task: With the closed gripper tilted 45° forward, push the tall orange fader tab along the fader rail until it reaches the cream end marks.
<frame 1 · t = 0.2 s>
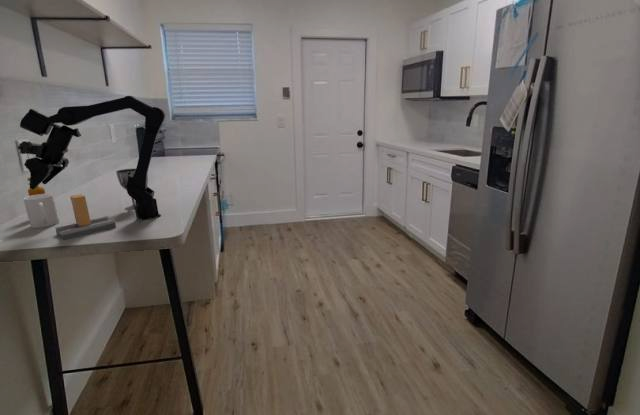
hand: (37, 186, 121), 15 cm above the table, tool tilted 30°, fingers open, 9 cm apart
cup: (46, 226, 128), on the table
fader rail: (87, 230, 121), on the table
carrot: (43, 217, 140), on the table
wine glass: (134, 208, 147), on the table
fader tab: (80, 211, 119), point 7 cm above the table, slide at 0.0 cm
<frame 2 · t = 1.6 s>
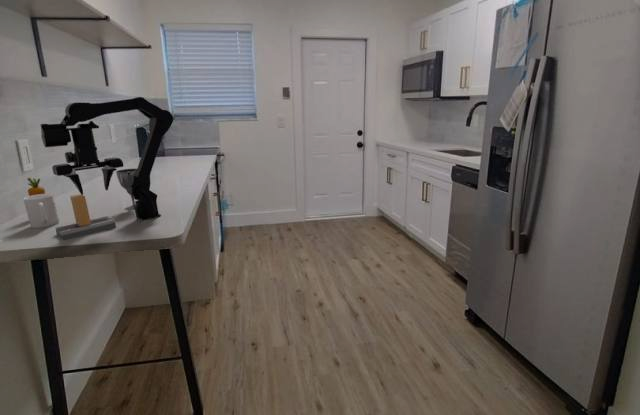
hand: (94, 192, 121), 12 cm above the table, tool pointing down, fingers open, 7 cm apart
nothing on the table moved.
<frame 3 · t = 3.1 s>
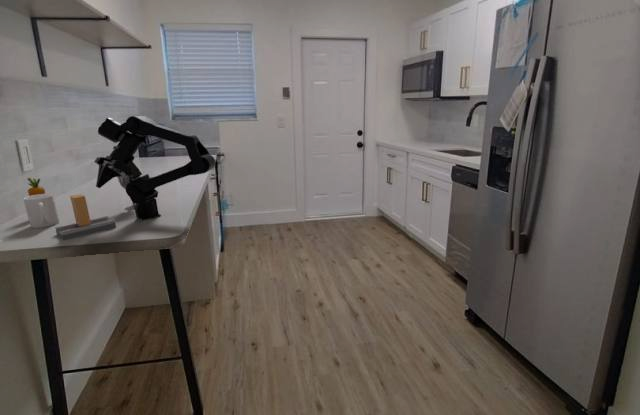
hand: (97, 187, 121), 13 cm above the table, tool tilted 45°, fingers closed
nothing on the table moved.
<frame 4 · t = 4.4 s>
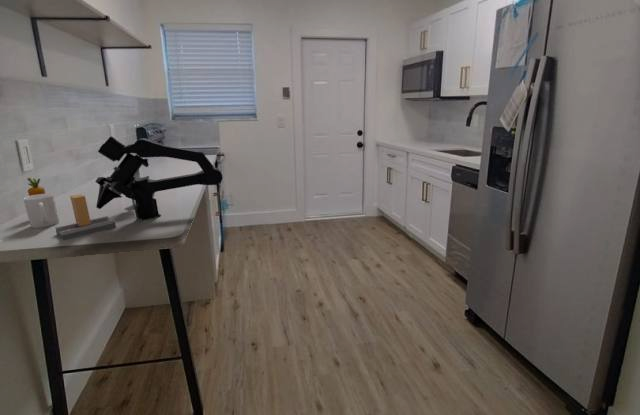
hand: (97, 208, 122), 7 cm above the table, tool tilted 45°, fingers closed
nothing on the table moved.
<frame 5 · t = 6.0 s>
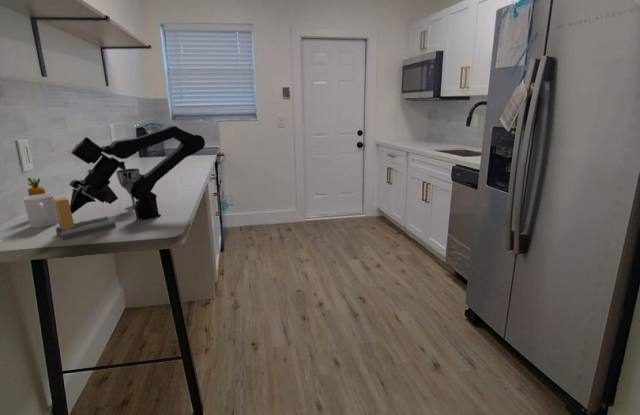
hand: (70, 212, 117), 7 cm above the table, tool tilted 45°, fingers closed, pressing on fader tab
fader tab: (64, 214, 116), point 7 cm above the table, slide at 4.6 cm, touching gripper
everything else where it was.
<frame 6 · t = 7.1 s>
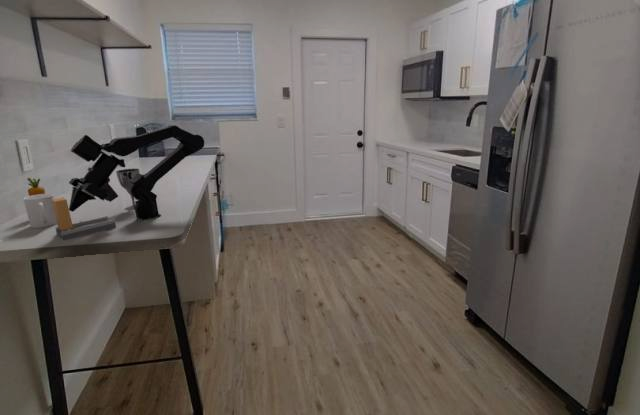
hand: (70, 210, 117), 8 cm above the table, tool tilted 45°, fingers closed
fader tab: (62, 215, 115), point 7 cm above the table, slide at 5.0 cm
everything else where it was.
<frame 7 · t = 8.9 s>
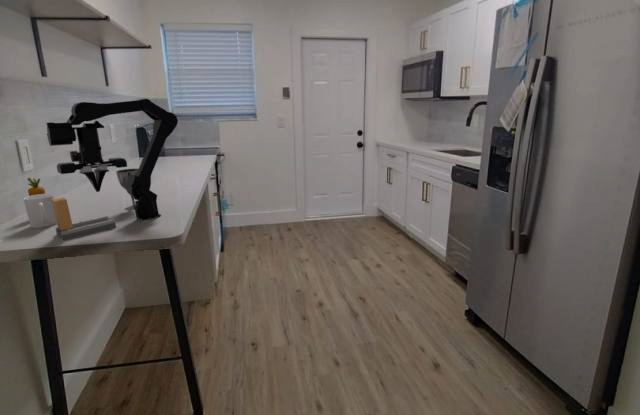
hand: (97, 191, 121), 12 cm above the table, tool pointing down, fingers closed
nothing on the table moved.
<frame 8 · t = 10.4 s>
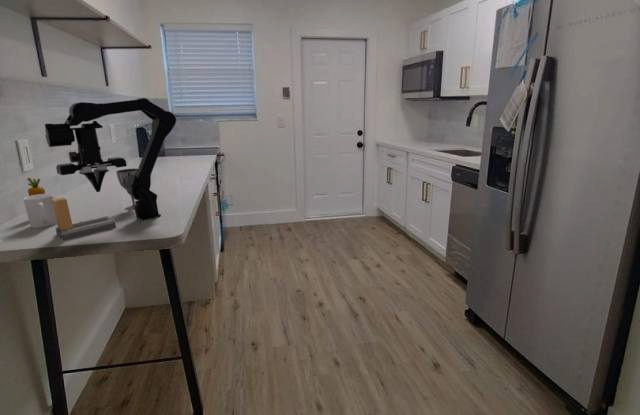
hand: (98, 191, 121), 12 cm above the table, tool pointing down, fingers closed
nothing on the table moved.
at the end: fader tab slide at 5.0 cm; cup moved 0.2 cm from its start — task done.
